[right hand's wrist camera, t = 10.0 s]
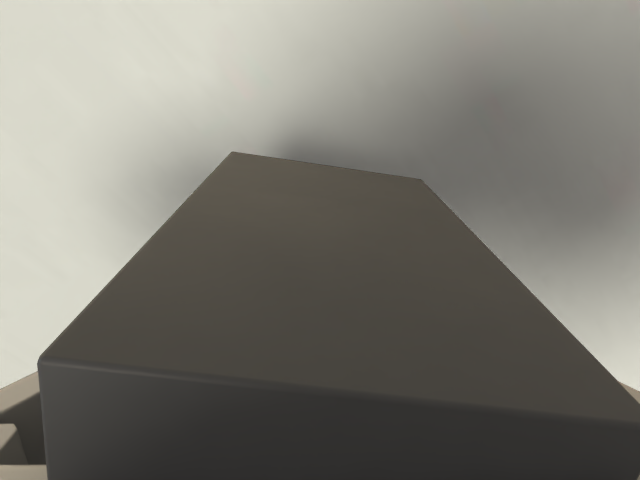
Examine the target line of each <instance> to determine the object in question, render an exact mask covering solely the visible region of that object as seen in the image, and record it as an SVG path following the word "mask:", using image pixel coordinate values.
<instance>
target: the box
mask: <svg viewBox="0 0 640 480" xmlns="http://www.w3.org/2000/svg"><path fill="white" fill-rule="evenodd" d="M37 366H38V377H39V389H40V400H41V411H42V423H43V434H44V445H45V457H46V468H47V479H48V480H637V479H638V477H639V475H640V403H639V402H638V401H637V400H636V399H635V398H634V397H633V396H632V395H631V394H630V393H629V392H628V391H627V390H626V389H625V388H624V387H623V386H622V385H621V384H620V383H619V382H618V381H617V380H616V379H615V378H614V377H613V376H612V375H611V374H610V373H609V372H608V371H607V370H606V369H605V367H604V366H603V365H602V364H601V363H600V362H599V361H598V360H597V359H596V358H595V357H594V356H593V355H592V354H591V353H590V352H589V351H588V350H587V349H586V348H585V347H584V346H583V345H582V344H581V343H580V342H579V341H578V340H577V339H576V338H575V337H574V336H573V335H572V334H571V333H570V332H569V331H568V330H567V329H566V327H565V326H564V325H563V324H562V323H561V322H560V321H559V320H558V319H557V318H556V317H555V316H554V315H553V314H552V313H551V312H550V311H549V310H548V309H547V308H546V307H545V306H544V305H543V304H542V303H541V302H540V301H539V300H538V299H537V298H536V297H535V296H534V295H533V294H532V293H531V292H530V291H529V290H528V289H527V287H526V286H525V285H524V284H523V283H522V282H521V281H520V280H519V279H518V278H517V277H516V276H515V275H514V274H513V273H512V272H511V271H510V270H509V269H508V268H507V267H506V266H505V265H504V264H503V263H502V262H501V261H500V260H499V259H498V258H497V257H496V256H495V255H494V254H493V253H492V252H491V251H490V250H489V249H488V248H487V246H486V245H485V244H484V243H483V242H482V241H481V240H480V239H479V238H478V237H477V236H476V235H475V234H474V233H473V232H472V231H471V230H470V229H469V228H468V227H467V226H466V225H465V224H464V223H463V222H462V221H461V220H460V219H459V218H458V217H457V216H456V215H455V214H454V213H453V212H452V211H451V210H450V209H449V208H448V206H447V205H446V204H445V203H444V202H443V201H442V200H441V199H440V198H439V197H438V196H437V195H436V194H435V193H434V192H433V191H432V190H431V189H430V188H429V187H428V186H427V185H426V184H425V183H424V182H423V181H422V180H421V179H415V178H408V177H401V176H394V175H387V174H381V173H374V172H367V171H360V170H354V169H347V168H340V167H333V166H326V165H320V164H313V163H306V162H299V161H292V160H286V159H279V158H272V157H265V156H258V155H252V154H245V153H238V152H231V153H230V154H229V155H228V156H227V157H226V158H225V159H224V161H223V162H222V163H221V164H220V165H219V166H218V167H217V168H216V169H215V170H214V171H213V172H212V173H211V174H210V175H209V177H208V178H207V179H206V180H205V181H204V182H203V183H202V184H201V185H200V186H199V187H198V188H197V189H196V190H195V191H194V193H193V194H192V195H191V196H190V197H189V198H188V199H187V200H186V201H185V202H184V203H183V204H182V205H181V206H180V207H179V208H178V210H177V211H176V212H175V213H174V214H173V215H172V216H171V217H170V218H169V219H168V220H167V221H166V222H165V223H164V224H163V226H162V227H161V228H160V229H159V230H158V231H157V232H156V233H155V234H154V235H153V236H152V237H151V238H150V239H149V240H148V242H147V243H146V244H145V245H144V246H143V247H142V248H141V249H140V250H139V251H138V252H137V253H136V254H135V255H134V256H133V257H132V259H131V260H130V261H129V262H128V263H127V264H126V265H125V266H124V267H123V268H122V269H121V270H120V271H119V272H118V273H117V275H116V276H115V277H114V278H113V279H112V280H111V281H110V282H109V283H108V284H107V285H106V286H105V287H104V288H103V289H102V291H101V292H100V293H99V294H98V295H97V296H96V297H95V298H94V299H93V300H92V301H91V302H90V303H89V304H88V305H87V306H86V308H85V309H84V310H83V311H82V312H81V313H80V314H79V315H78V316H77V317H76V318H75V319H74V320H73V321H72V322H71V324H70V325H69V326H68V327H67V328H66V329H65V330H64V331H63V332H62V333H61V334H60V335H59V336H58V337H57V338H56V340H55V341H54V342H53V343H52V344H51V345H50V346H49V347H48V348H47V349H46V350H45V351H44V352H43V353H42V354H41V355H40V357H39V359H38V363H37Z"/></svg>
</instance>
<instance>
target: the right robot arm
mask: <svg viewBox="0 0 640 480" xmlns="http://www.w3.org/2000/svg"><path fill="white" fill-rule="evenodd" d="M618 382H619V381H618ZM619 383H620V384H621V385H622V386H623V387H624V388H625V389H626V390H627V391H628V392H629V393H630V394H631V395H632V396H633V397H634V398H635V399H636V400H637V401H638V402H639V403H640V392H639V391H637V390H635V389H633V388H631V387H629V386H627V385H625V384H623V383H621V382H619ZM0 480H48V479H47V468H46V457H45V445H44V434H43V423H42V411H41V400H40V389H39V377H38V371H37V372H35V373H33V374H31V375H29V376H26V377H24V378H22V379H20V380H18V381H16V382H14V383H12V384H10V385H8V386H6V387H4V388H1V389H0ZM637 480H640V475H639V477H638V479H637Z"/></svg>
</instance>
